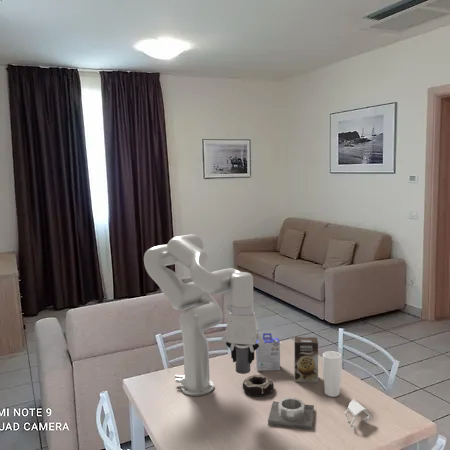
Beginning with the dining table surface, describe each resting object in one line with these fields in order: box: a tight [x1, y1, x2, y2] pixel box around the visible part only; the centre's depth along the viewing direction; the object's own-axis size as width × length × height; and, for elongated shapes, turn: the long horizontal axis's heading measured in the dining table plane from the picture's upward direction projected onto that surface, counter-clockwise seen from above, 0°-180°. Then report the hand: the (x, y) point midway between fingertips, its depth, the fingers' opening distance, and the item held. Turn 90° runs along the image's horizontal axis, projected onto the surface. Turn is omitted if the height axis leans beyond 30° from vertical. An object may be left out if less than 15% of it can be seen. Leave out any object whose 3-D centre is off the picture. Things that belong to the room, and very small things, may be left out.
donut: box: [242, 374, 275, 397], centre depth 162 cm, size 12×12×4 cm
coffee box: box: [293, 336, 319, 384], centre depth 169 cm, size 9×6×16 cm
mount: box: [267, 396, 315, 430], centre depth 143 cm, size 14×12×4 cm
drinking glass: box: [321, 350, 343, 398], centre depth 157 cm, size 7×7×15 cm
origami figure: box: [344, 398, 373, 430], centre depth 140 cm, size 12×8×5 cm
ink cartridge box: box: [255, 332, 281, 372], centre depth 179 cm, size 10×6×14 cm, turn 89°
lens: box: [235, 344, 251, 375], centre depth 146 cm, size 5×5×10 cm
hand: (242, 360), depth 147 cm, fingers closed on lens, 5 cm apart
